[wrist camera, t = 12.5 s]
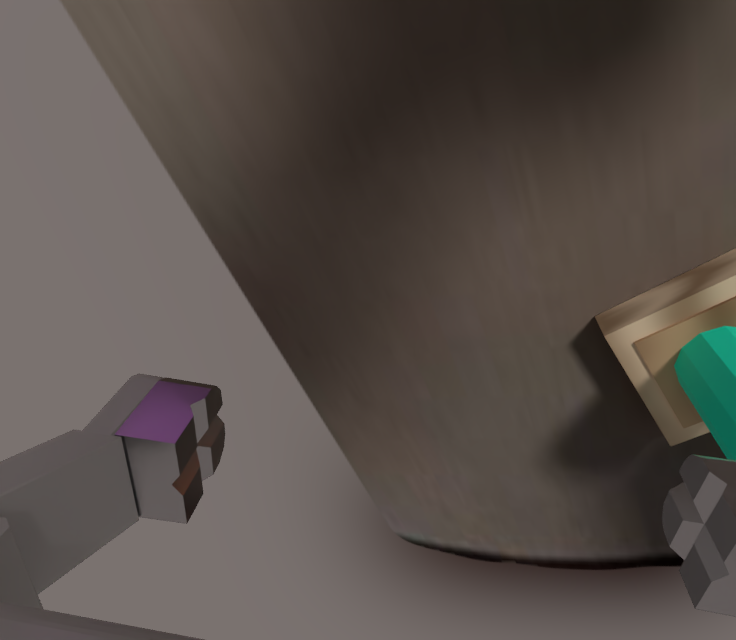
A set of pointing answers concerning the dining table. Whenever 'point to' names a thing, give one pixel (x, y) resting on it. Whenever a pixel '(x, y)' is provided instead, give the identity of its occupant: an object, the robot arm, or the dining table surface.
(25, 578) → the robot arm
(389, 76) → the dining table surface
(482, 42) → the dining table surface
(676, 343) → the base block
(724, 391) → the candle
